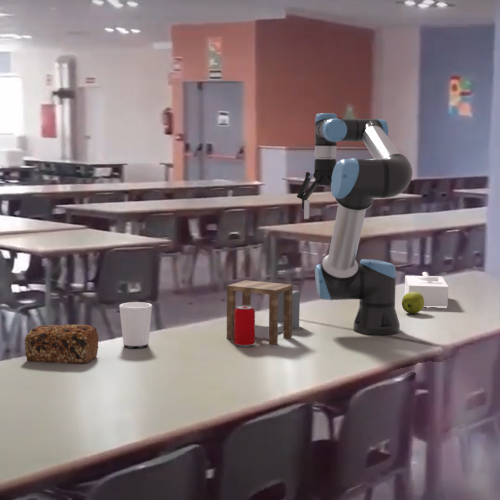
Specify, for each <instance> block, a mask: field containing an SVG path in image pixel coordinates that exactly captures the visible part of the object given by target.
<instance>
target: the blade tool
mask: <svg viewBox="0 0 500 500" xmlns="http://www.w3.org/2000/svg"><path fill="white" fill-rule="evenodd" d="M300 294H301V290H293V289H292V330H293V329H296V328H298V327H300V299H301V298H300V297H301V296H300ZM283 323H284V292H283V293H280V294H278V334H279V333H282V332H283ZM263 338H265V339H264V340H269V325H262V324H256V323H255V339H263Z"/></svg>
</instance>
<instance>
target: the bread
mask: <svg viewBox="0 0 500 500" xmlns="http://www.w3.org/2000/svg"><path fill="white" fill-rule="evenodd" d="M24 346H25V347H24V348H25V349H24V350H25V358H26V360H27V362H34V361H35V362H39V363H41V362H42V363H55V364H57V363H58V364H63V363H64V364H86V363H89V362H91V361H92V360H94V359H96V358H97V356H98V350H99V334H98V331H97V327H95V326H92V325H90V324H69V323H68V324H45V325H44V324H43V325H38V326H35V327H34V328H32V329H30V331H29V332H28V333H27V334H26V336H25V338H24Z"/></svg>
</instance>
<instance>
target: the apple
mask: <svg viewBox="0 0 500 500" xmlns="http://www.w3.org/2000/svg"><path fill="white" fill-rule="evenodd" d="M423 306H424V298H423V296H422V295H421V294H420V293H418V292H409V293H407V294H406V295H405V294H404V296H403V297H402V299H401V307H402V309H403V310H404V312H406V313H407V314H411V313H415V314H418V313H419V312H421V311H422V310H423V309H424V308H423Z"/></svg>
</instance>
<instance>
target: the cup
mask: <svg viewBox="0 0 500 500" xmlns="http://www.w3.org/2000/svg"><path fill="white" fill-rule="evenodd" d="M118 307H119V314H120V315H119V316H120V325H121V335H122V343H123V344H122V345H123V346H124V347H127V348H129V349H133V348H135V347H137V348H138V349H143V348H144V347H148V346H149V342H150V331H151V330H150V329H151V321H152V320H151V319H152V310H153V304H151V303H150V302H143V301H131V302H124V303H121V304H119V306H118Z"/></svg>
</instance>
